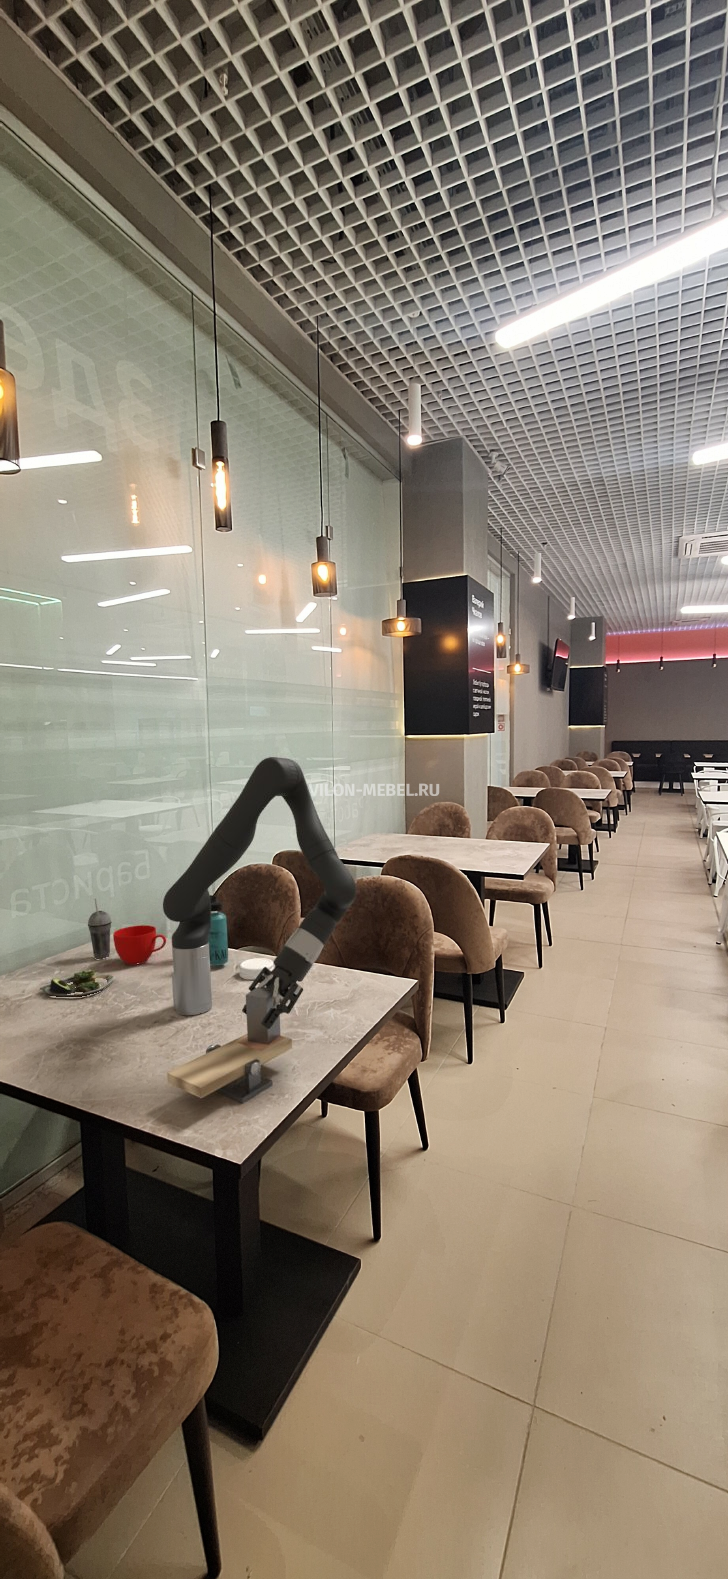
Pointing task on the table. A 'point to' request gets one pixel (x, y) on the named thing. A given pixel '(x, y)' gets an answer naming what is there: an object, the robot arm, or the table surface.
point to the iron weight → (260, 1016)
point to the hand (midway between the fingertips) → (254, 1020)
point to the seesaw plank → (224, 1064)
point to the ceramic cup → (136, 943)
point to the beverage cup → (100, 933)
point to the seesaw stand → (245, 1082)
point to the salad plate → (77, 984)
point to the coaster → (254, 967)
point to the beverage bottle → (218, 936)
